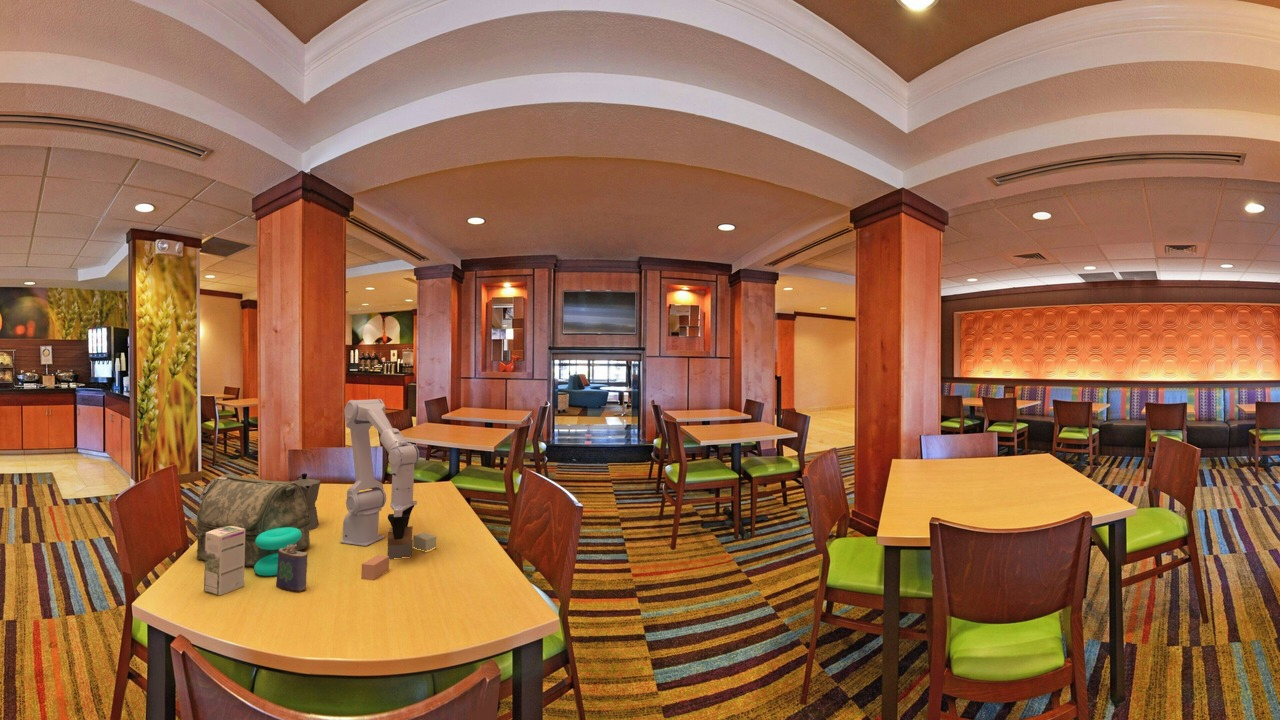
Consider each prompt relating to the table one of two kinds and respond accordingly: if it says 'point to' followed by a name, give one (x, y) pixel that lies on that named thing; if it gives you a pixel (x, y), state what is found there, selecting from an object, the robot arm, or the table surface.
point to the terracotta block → (375, 567)
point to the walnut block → (406, 539)
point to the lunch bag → (252, 511)
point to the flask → (291, 569)
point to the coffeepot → (310, 497)
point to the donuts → (274, 547)
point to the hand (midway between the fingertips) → (400, 534)
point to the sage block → (424, 541)
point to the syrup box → (224, 560)
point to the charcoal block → (399, 551)
